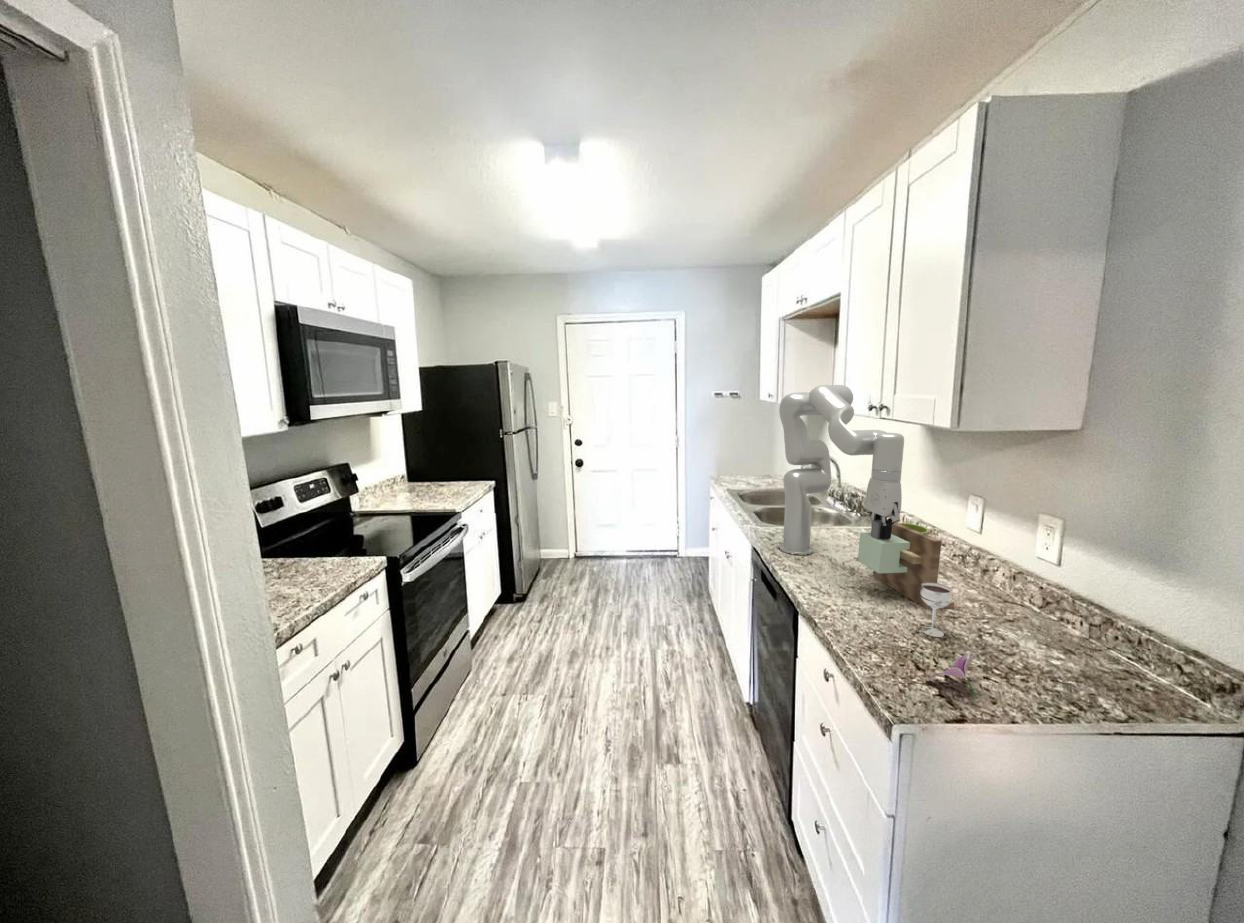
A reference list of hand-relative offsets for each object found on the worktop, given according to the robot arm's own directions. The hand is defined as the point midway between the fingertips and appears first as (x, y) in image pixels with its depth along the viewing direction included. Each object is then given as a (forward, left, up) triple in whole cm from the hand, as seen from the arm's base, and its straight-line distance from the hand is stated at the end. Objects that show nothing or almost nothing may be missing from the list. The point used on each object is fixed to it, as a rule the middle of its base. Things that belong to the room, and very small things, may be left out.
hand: (880, 535), depth 138 cm
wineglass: (+22, 0, -19) cm, 29 cm away
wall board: (-1, +11, -18) cm, 21 cm away
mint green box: (0, +1, -10) cm, 10 cm away
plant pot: (-27, +31, -19) cm, 45 cm away
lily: (+43, -12, -19) cm, 48 cm away
